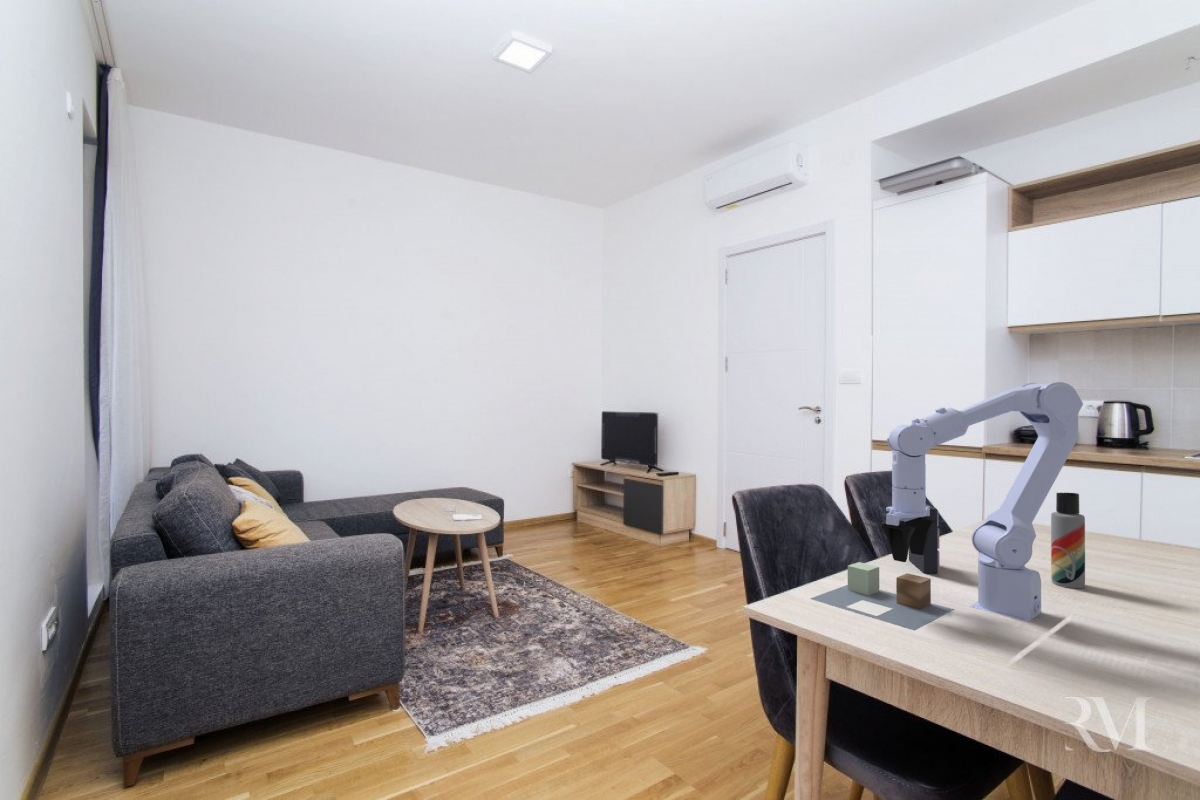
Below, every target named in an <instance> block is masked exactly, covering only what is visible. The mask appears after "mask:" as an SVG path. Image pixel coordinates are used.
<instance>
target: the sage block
mask: <svg viewBox="0 0 1200 800" xmlns="http://www.w3.org/2000/svg"><path fill="white" fill-rule="evenodd" d="M847 585H848V590H850V591H854V592H857V593H861V594H865V595H871V594H873V593H876V592H878V591H879V590H880V566H878V565H873V564H870V563H869V564H868V563H865V562H860V561H858V562H855V563H852V564H848V565H847Z"/></svg>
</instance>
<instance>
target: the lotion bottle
mask: <svg viewBox="0 0 1200 800" xmlns="http://www.w3.org/2000/svg"><path fill="white" fill-rule="evenodd" d="M1055 493H1056V496H1055V497H1056V498H1055V499H1056V503H1055V504H1056V505H1055V508H1056V509H1055V510H1056V511H1054V512H1051V514H1050V515H1051V516H1050V559H1051V563H1050V566H1051V567H1050V569H1051V570H1050V576H1051V579H1050V580H1051V582H1052V584H1054V585H1056V586H1059V587H1064V588H1070V589H1083V588H1085V586H1086V518H1085V516H1084V515H1083V514H1081V513H1080V494H1079V493H1078V492H1055Z"/></svg>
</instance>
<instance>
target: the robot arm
mask: <svg viewBox="0 0 1200 800" xmlns="http://www.w3.org/2000/svg"><path fill="white" fill-rule="evenodd" d="M1083 406H1084V403H1083V400H1082V399H1081V396H1080V395H1079V394H1078V391H1076V389H1075V388H1074V387H1073V386H1072V385H1071V384H1069V383H1067V382H1063V381H1055V382H1047V383H1035V382H1034V383H1033V382H1031V383H1025V384H1021V385H1020V386H1016V387H1010V388H1008V389H1006V390H1003V391H1001V392H999V393H997V394H994V395H992V396H990V397H988V398H985V399H983V400H981V401H979V402H976V403H973V404H972V405H970V406H967V407H965V408H962V409H960V410H958V409H956V408H952V407H948V408H945V407H939V408H936V409H935V410H934V411H935V413H933V414H930V415H928V416H925V417H922V418H918V417H917V418H913V419H911V424H909V425H908V424H901V425H897V426H895V427H894V428H893V429H892V430H891V431H890V433H889V435H888V436H889V437H887V439H886V442H887V445H888V447H889V448H890V450H891V451H892V463H891V473H892V474H891V484H892V485H891V495H892V496H891V504H892V505H891V506H887V507H886V508H885V510H886V512H888V513H886V514H885V517H886V518H885V519H886V520H884V521H881V523H880V527H881V529H882V531H883V532H884V535H885V536H886V538H887V539H886V540H888V544H889V547H890V552H891V555H892V558H893V561H896V562H901V563H906V562H907V560H908V558H909V546H910V551H911V553H912V554H917V555H923V554H924V551H925V547H926V543H927V540H928V536H929V534H930V531H931V529H932V528H933V526H934V524H935V523H936V519H934V518H928V517H927V516H930V506H931V505H930V506H926V504H927V503H926V502H927V501H926V498H927V496H926V490H927V489H926V487H927V486H926V483H927V482H926V480H927V479H926V470H927V469H926V468H927V467H926V466H927V465H926V455H927V453H928V452H929V451H930V450H931V449H932V448H934V447H937V446H939V445H943V444H944V443H947V442H949V441H952V440H956V439H958V438H960V437H963V436H964V435H966V433H967V431H968V428H969V427H970V426H972V425H976V424H979V423H981V422H984V421H987V420H989V419H990V420H991V419H993V418H995V417H999V416H1001V415H1004V414H1008V413H1011V412H1018V413H1019V414H1021V415H1022V416H1023V417H1024V418H1025V419H1026V420H1027V421H1028V422H1029V423H1030V424H1031V425H1032V427H1033V428H1034V430H1035V432H1036V434H1037V439H1036V441H1034V444H1033V446H1032V448H1031V450H1030V451H1029V454H1028V455H1027V457H1026V459H1025V461H1024V463H1023V464H1022V466H1021V468H1020V470H1019V472H1018V474H1017V475H1016V477H1015V479H1014V481H1013V483H1012V485H1011V487H1010V489H1009V491H1008V492H1007V494H1006V495H1005V498H1004V500H1003V502H1002V503H1001V504H1000V506H999V508H998V509H997V510H995V511H993V512H992V513H989V514H988V515H987V517H986V518H985V520H984V521H983V522H982V523H981V524H980V525H978V526H977V527H976V528H974V530H973V532H972V534H971V544H972V546H973V547H974V549H975V550H976V551H977V552H978V558H977V563H978V564H977V572H978V573H977V578H978V579H977V580H978V581H977V582H978V583H977V591H978V593H977V594H978V596H977V597H978V598H977V601H976V602H974V603H972V604H970V605H969V607H970V608H975V609H978V610H981V611H985V612H989V613H994V614H998V615H1001V616H1004V617H1005V616H1006V617H1009V618H1012V619H1013V618H1014V619H1017V620H1020V621H1025V622H1030V621H1031V620H1033V619H1034V618H1036V617H1038V615H1040V614H1041V613H1042V614H1043V611H1042V578H1041V574H1040V572H1039V571H1038V570H1035V569H1031V568H1028V567H1026V566H1025V565H1026V564H1027V563H1029V562H1030V560H1031V558H1032V556H1033V543H1034V542H1035V540H1036V536H1037V533H1036V531H1035V528H1034V525H1033V522H1034V520H1035V518H1036V517H1037V515H1038V513H1039V511H1040V509H1041V507H1042V505H1043V503H1044V501H1045V500H1046V498H1047V496H1048V495H1049V492H1050V490H1051V488H1052V487H1053V486H1054V484H1055V482H1056V480H1057V478H1058V476H1059V474H1060V473H1061V470H1062V469H1063V467H1064V465H1065V464H1066V461H1067V459H1068V458H1069V456H1070V454H1071V452H1072V450H1073V449H1074V446H1075V445H1076V444H1077V441H1078V439H1079V413H1080V411H1081V409H1082V408H1083Z"/></svg>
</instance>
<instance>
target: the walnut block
mask: <svg viewBox="0 0 1200 800" xmlns="http://www.w3.org/2000/svg"><path fill="white" fill-rule="evenodd" d="M931 579H932V578H930V577H926V576H920V575H916V574H913V573H912V574H911V573H907V572H906V573H905V574H902V575H900V576H896V579H895V580H896V582H895V584H896V585H895V587H896V588H895V589H896V592H895V594H896V599H897V603H898V604H901V605H905V606H908V607H912V608H916V609H919V610H921V609H923V608H925V607H927V606H929V605H931V603H932V583H931V582H932V581H931Z"/></svg>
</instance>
